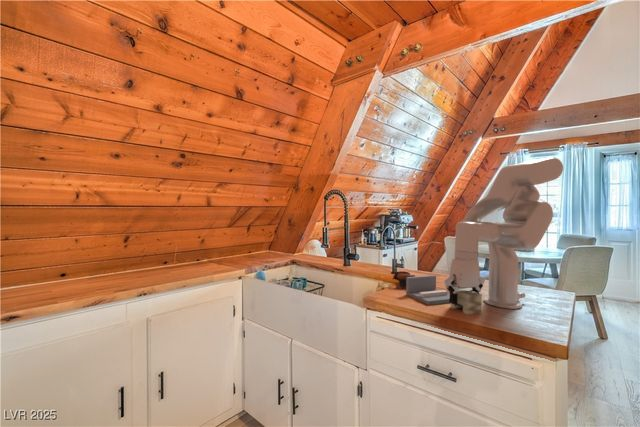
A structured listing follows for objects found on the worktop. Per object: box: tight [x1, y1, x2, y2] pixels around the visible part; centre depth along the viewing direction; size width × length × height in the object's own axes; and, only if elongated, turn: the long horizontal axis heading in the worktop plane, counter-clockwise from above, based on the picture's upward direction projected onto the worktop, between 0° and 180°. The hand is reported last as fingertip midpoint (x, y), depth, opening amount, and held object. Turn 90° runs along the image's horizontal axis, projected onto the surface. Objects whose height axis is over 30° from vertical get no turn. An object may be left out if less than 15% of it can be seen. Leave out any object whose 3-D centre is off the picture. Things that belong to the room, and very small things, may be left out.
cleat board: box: [405, 274, 451, 306], centre depth 119 cm, size 14×14×8 cm
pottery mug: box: [392, 270, 416, 289], centre depth 137 cm, size 12×10×8 cm
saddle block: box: [450, 289, 483, 315], centre depth 106 cm, size 6×8×6 cm
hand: (464, 302), depth 105 cm, fingers open, 9 cm apart
